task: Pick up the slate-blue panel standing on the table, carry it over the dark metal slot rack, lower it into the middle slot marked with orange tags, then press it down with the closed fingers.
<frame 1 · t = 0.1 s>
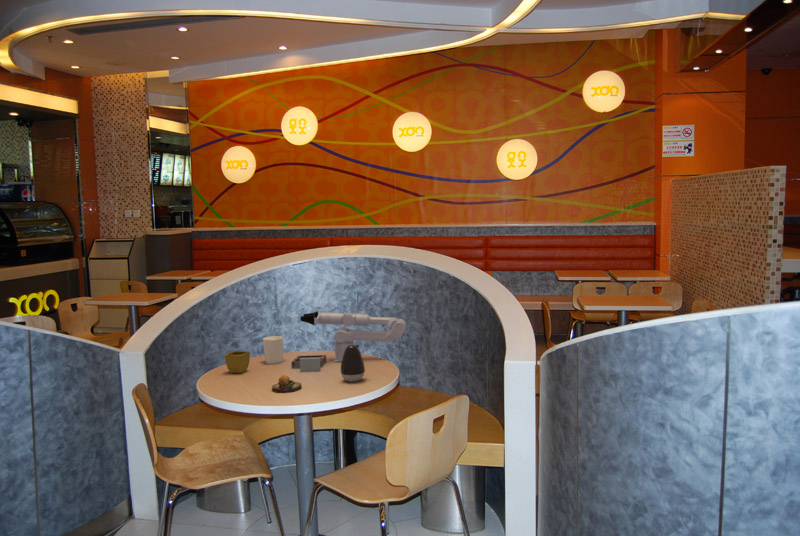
hand: (302, 317, 300), 22 cm above the table, tool horizontal, fingers open, 7 cm apart
flower pot: (238, 372, 284), on the table
candle holder: (274, 362, 303), on the table
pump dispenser: (353, 380, 261), on the table
rack: (309, 364, 294), on the table
panel: (310, 371, 281), on the table
plate of food: (286, 390, 251), on the table
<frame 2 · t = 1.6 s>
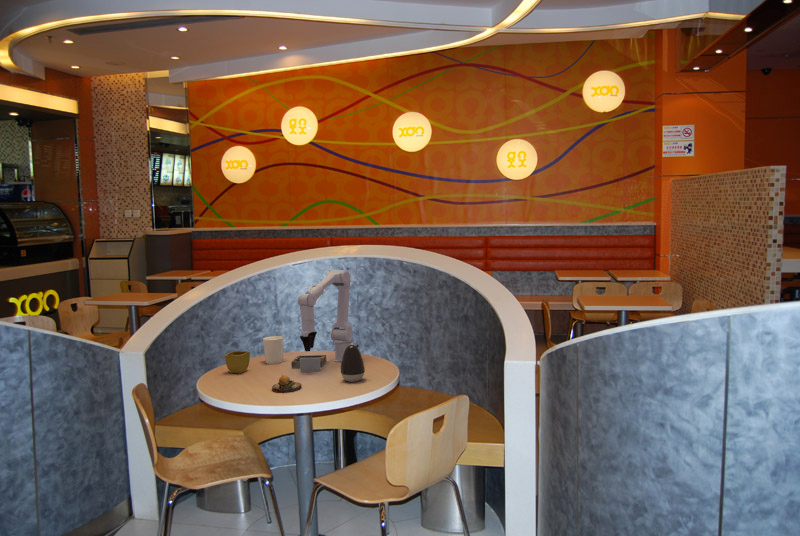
hand: (309, 349, 280), 10 cm above the table, tool pointing down, fingers open, 7 cm apart
nothing on the table moved.
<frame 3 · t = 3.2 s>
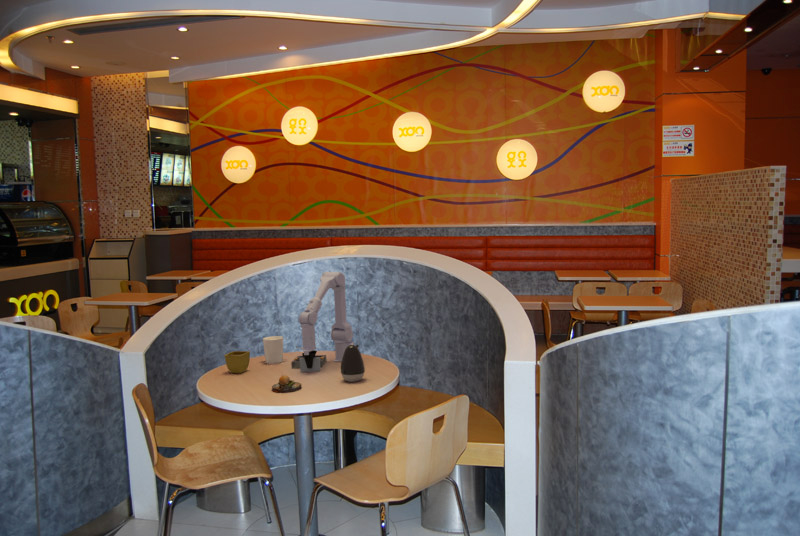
hand: (310, 367, 281), 2 cm above the table, tool pointing down, fingers closed on panel, 2 cm apart
panel: (310, 371, 281), on the table, touching gripper
everything else where it was.
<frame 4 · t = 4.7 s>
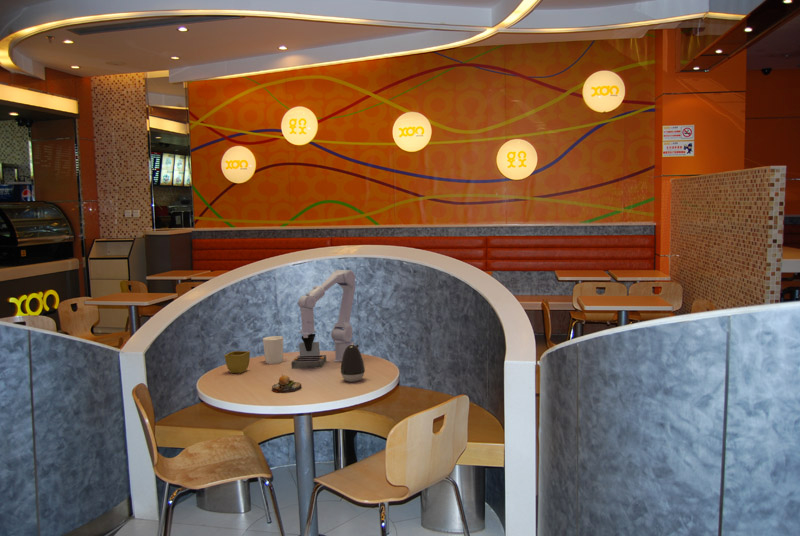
hand: (309, 350, 286), 8 cm above the table, tool pointing down, fingers closed on panel
panel: (309, 355, 286), point 6 cm above the table, touching gripper
everything else where it was.
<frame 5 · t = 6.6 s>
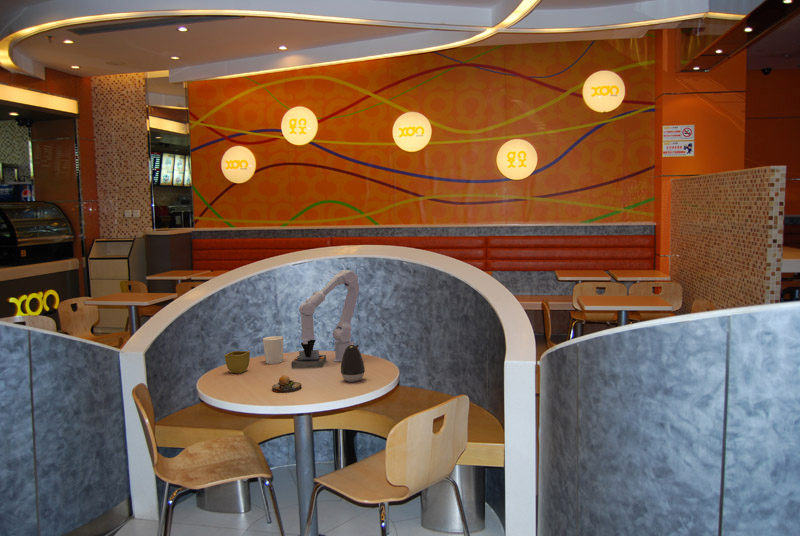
hand: (309, 356, 293), 4 cm above the table, tool pointing down, fingers open, 4 cm apart
panel: (309, 363, 294), point 1 cm above the table, touching rack
everything else where it was.
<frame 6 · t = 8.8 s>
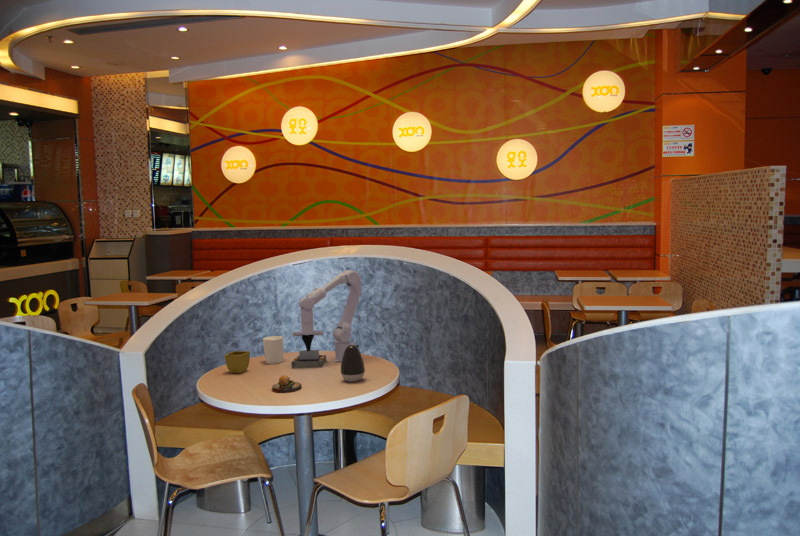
hand: (308, 350, 293), 7 cm above the table, tool pointing down, fingers closed, pressing on panel
panel: (309, 363, 294), point 1 cm above the table, touching gripper, rack
everything else where it was.
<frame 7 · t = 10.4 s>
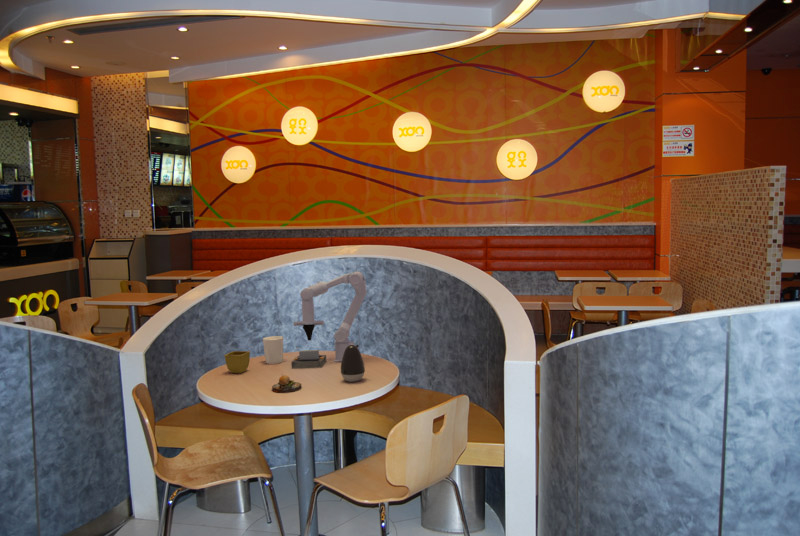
hand: (309, 340, 301), 10 cm above the table, tool pointing down, fingers closed
panel: (309, 363, 294), point 1 cm above the table, touching rack
everything else where it was.
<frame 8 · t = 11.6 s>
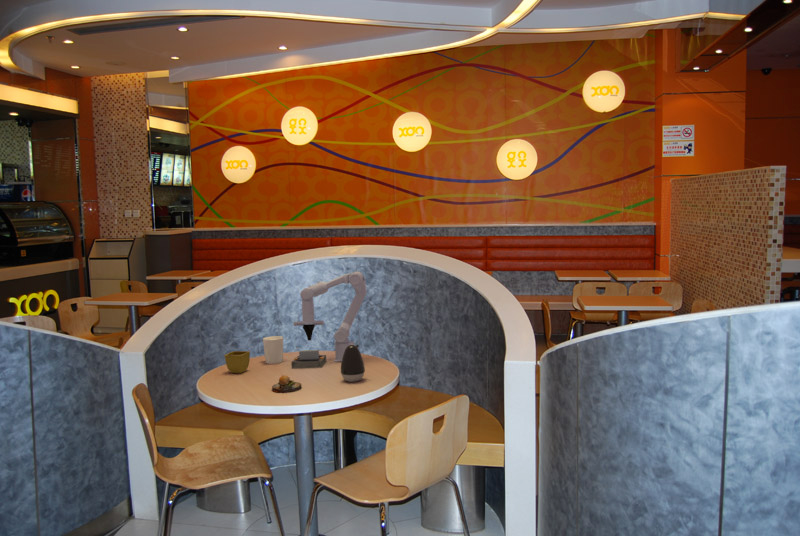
hand: (309, 340, 301), 10 cm above the table, tool pointing down, fingers closed
nothing on the table moved.
at the end: panel 0.1 cm off-centre on the rack, point 0.8 cm above the rack's base; panel tilted 0°; the gripper is holding nothing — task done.
